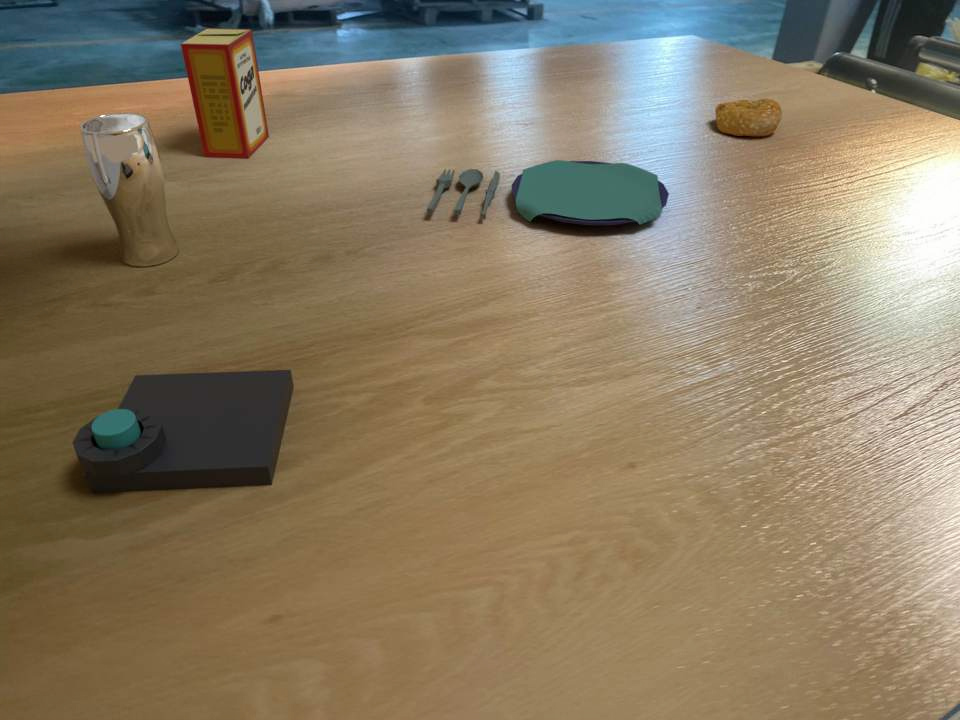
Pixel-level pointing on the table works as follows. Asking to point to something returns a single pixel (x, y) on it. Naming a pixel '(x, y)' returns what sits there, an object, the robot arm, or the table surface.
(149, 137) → the beer glass
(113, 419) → the button
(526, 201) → the cutlery set
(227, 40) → the baking soda box
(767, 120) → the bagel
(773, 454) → the table surface
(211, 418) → the black flat square block
